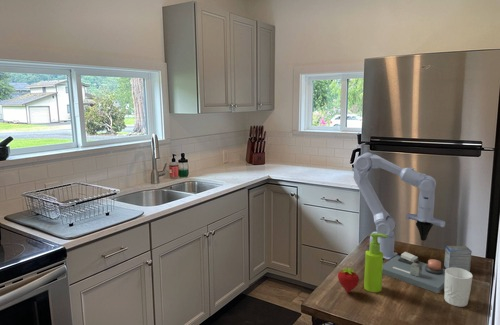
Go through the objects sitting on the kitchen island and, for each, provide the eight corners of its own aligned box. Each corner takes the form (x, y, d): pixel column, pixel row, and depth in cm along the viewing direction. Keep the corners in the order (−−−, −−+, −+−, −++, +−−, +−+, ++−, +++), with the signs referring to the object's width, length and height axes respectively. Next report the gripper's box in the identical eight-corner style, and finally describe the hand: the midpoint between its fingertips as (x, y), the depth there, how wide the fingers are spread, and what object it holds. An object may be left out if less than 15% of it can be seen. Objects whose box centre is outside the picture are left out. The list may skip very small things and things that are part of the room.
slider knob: (410, 273, 138) (410, 264, 138) (413, 271, 140) (413, 262, 139) (418, 276, 136) (419, 267, 135) (421, 274, 138) (422, 265, 137)
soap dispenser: (385, 293, 129) (388, 237, 126) (364, 291, 131) (367, 236, 127) (383, 285, 135) (386, 231, 132) (363, 283, 136) (365, 230, 133)
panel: (377, 272, 145) (378, 264, 144) (397, 259, 156) (397, 252, 155) (438, 293, 129) (438, 285, 128) (454, 277, 140) (455, 269, 139)
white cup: (445, 292, 129) (448, 265, 128) (471, 300, 125) (474, 271, 123) (439, 302, 124) (442, 273, 122) (467, 310, 119) (470, 281, 117)
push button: (425, 267, 141) (426, 261, 140) (430, 264, 144) (431, 258, 143) (438, 271, 138) (438, 265, 137) (442, 267, 141) (443, 261, 140)
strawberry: (352, 299, 126) (353, 271, 124) (333, 291, 131) (334, 264, 130) (362, 293, 130) (363, 266, 128) (343, 285, 135) (344, 259, 133)
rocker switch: (400, 257, 149) (401, 254, 149) (404, 254, 152) (405, 251, 151) (413, 262, 146) (414, 259, 145) (417, 259, 148) (418, 257, 148)
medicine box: (464, 266, 148) (466, 245, 147) (469, 272, 144) (472, 250, 143) (443, 266, 149) (445, 245, 148) (448, 271, 145) (450, 249, 143)
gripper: (403, 205, 152) (401, 237, 154) (441, 213, 141) (438, 247, 144) (410, 201, 156) (408, 233, 159) (448, 209, 146) (445, 242, 148)
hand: (423, 239), depth 152 cm, fingers closed
